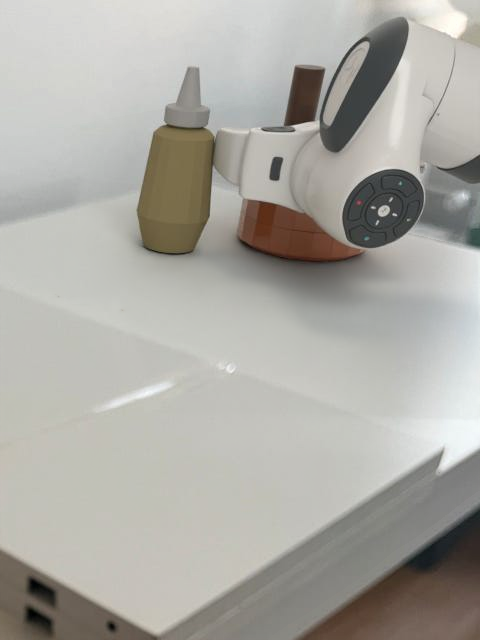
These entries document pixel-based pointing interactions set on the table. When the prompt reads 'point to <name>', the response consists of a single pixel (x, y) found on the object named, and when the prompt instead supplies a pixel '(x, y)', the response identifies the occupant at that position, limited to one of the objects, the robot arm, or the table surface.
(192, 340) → the table surface
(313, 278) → the table surface
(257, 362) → the table surface
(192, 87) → the squeeze bottle
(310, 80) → the stirring stick
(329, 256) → the bowl
